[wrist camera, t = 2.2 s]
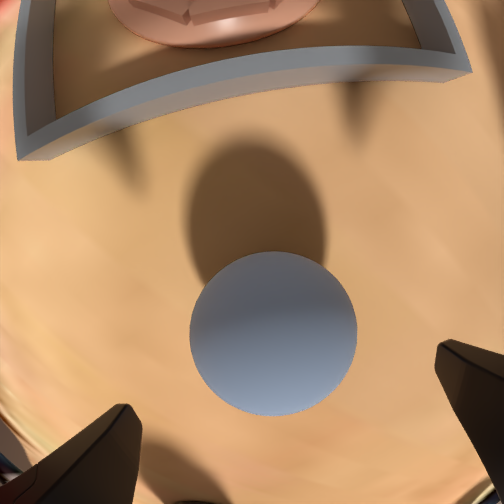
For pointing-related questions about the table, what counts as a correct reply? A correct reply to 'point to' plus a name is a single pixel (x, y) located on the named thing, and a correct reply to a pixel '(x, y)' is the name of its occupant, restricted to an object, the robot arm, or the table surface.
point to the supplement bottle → (193, 503)
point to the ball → (273, 333)
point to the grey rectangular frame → (211, 74)
